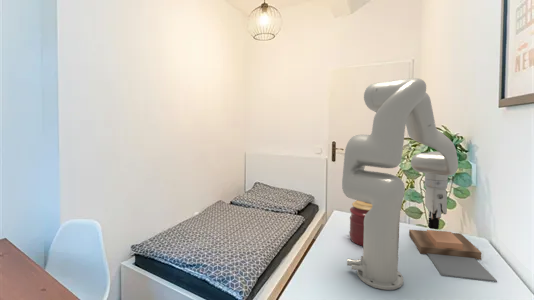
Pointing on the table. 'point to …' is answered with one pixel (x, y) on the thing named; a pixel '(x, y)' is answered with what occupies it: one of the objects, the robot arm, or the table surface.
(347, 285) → the table surface
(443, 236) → the tile
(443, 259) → the mat
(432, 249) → the brown wooden board
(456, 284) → the table surface
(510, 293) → the table surface
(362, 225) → the canister
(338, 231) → the table surface
